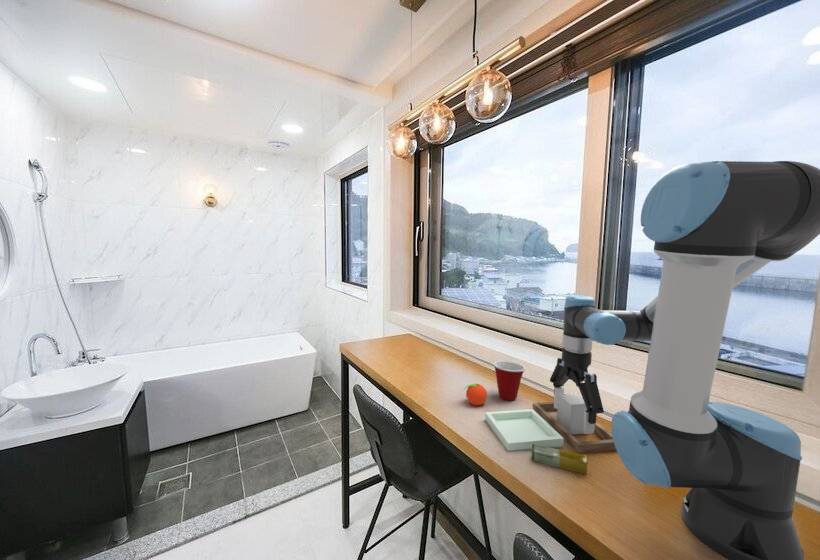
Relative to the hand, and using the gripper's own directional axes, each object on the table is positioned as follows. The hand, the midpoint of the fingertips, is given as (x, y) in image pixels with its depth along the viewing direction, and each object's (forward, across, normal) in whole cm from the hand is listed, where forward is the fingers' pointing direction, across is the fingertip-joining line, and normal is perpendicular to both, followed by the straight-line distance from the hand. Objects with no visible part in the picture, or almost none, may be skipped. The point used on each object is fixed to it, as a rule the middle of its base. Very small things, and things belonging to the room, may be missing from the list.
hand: (572, 419), depth 92 cm
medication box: (+3, -15, +14) cm, 21 cm away
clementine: (+3, +18, +24) cm, 30 cm away
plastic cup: (+3, +21, +10) cm, 23 cm away
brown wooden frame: (+2, 0, 0) cm, 3 cm away
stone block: (+3, 0, 0) cm, 3 cm away
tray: (+2, -1, +17) cm, 17 cm away
